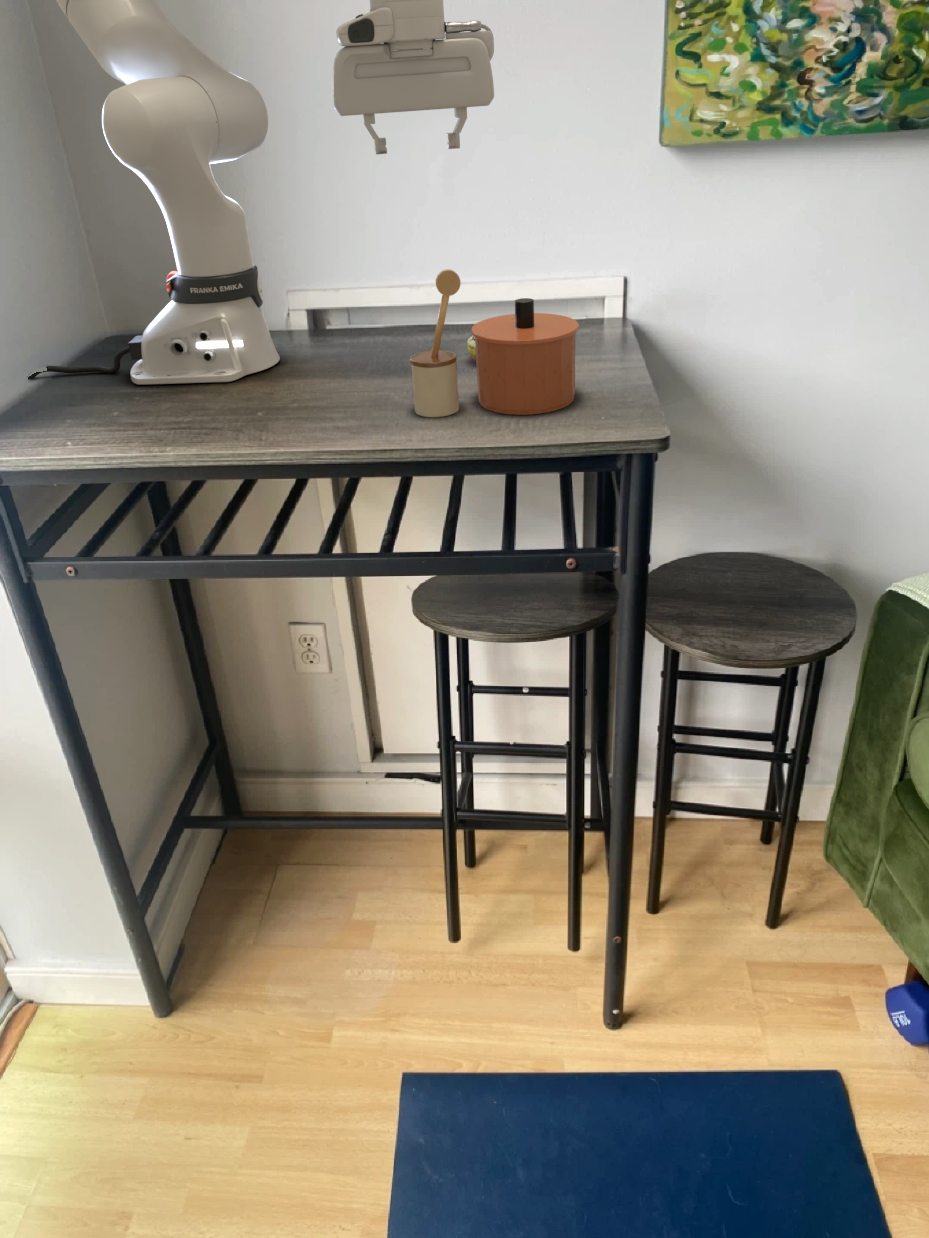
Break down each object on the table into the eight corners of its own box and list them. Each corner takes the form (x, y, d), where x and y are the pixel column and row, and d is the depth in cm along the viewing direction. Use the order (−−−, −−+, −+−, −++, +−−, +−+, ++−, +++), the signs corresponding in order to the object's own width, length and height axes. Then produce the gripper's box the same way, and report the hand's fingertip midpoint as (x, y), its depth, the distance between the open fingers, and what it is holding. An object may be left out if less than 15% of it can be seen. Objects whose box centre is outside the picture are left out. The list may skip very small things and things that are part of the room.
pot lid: (479, 354, 114) (477, 317, 112) (465, 326, 126) (464, 293, 123) (589, 344, 115) (590, 308, 113) (566, 317, 127) (566, 284, 124)
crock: (416, 419, 120) (404, 278, 111) (412, 404, 125) (401, 269, 116) (470, 414, 121) (462, 273, 112) (464, 400, 126) (456, 264, 117)
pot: (486, 419, 119) (482, 347, 114) (473, 388, 130) (469, 322, 125) (583, 409, 120) (584, 338, 115) (563, 380, 131) (563, 314, 126)
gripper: (489, 20, 118) (493, 143, 125) (325, 30, 116) (339, 154, 124) (496, 18, 113) (500, 147, 120) (325, 29, 111) (339, 159, 118)
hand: (417, 151), depth 122 cm, fingers open, 8 cm apart
